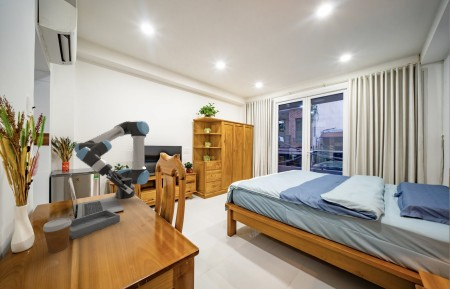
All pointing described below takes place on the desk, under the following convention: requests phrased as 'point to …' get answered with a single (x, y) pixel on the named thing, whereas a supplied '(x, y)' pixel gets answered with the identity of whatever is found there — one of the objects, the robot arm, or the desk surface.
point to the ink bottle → (123, 193)
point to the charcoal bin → (92, 223)
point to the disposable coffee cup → (57, 234)
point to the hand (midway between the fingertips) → (132, 190)
